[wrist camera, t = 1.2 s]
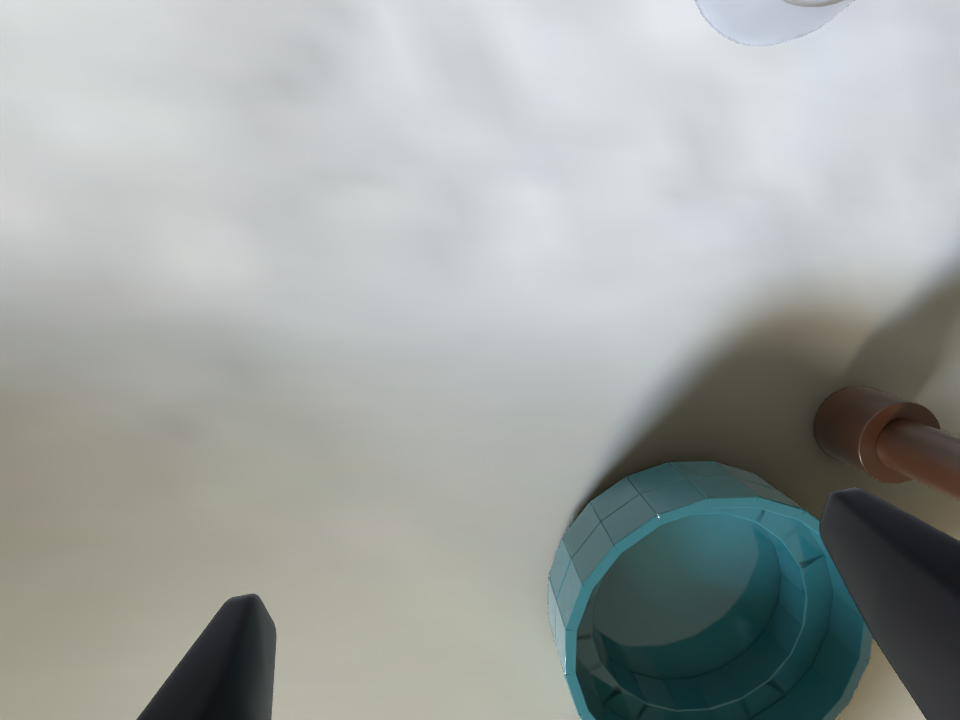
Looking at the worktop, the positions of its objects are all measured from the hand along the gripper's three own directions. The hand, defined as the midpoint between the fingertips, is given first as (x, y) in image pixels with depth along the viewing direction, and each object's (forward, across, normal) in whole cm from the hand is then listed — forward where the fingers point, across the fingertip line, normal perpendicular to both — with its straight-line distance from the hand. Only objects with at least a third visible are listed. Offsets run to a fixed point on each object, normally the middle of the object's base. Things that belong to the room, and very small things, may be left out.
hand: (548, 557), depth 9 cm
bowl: (+11, -8, +18) cm, 22 cm away
